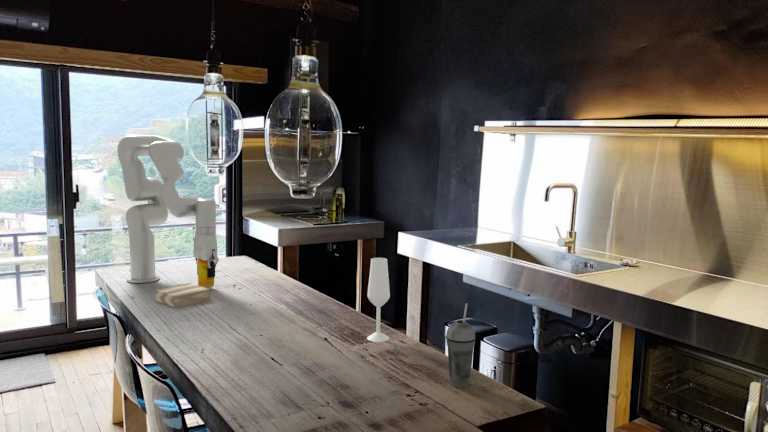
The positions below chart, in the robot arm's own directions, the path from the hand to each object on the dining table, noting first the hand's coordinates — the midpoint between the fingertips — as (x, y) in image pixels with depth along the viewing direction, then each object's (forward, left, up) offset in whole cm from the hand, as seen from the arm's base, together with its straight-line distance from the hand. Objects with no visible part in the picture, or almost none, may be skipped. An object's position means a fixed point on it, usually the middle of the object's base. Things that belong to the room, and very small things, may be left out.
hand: (206, 275), depth 225 cm
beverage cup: (+124, -11, -6) cm, 124 cm away
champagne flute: (+88, +1, -6) cm, 88 cm away
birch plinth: (+8, -15, -6) cm, 18 cm away
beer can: (0, 0, -5) cm, 5 cm away
